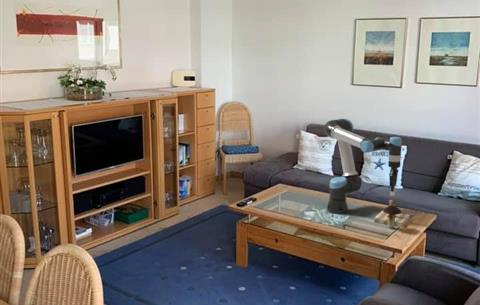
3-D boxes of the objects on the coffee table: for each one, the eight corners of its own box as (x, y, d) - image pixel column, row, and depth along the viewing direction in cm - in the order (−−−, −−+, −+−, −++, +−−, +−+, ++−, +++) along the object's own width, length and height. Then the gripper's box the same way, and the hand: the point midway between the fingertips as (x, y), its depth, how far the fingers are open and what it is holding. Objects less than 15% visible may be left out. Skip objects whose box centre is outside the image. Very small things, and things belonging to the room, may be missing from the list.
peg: (387, 221, 329) (388, 200, 326) (389, 219, 333) (390, 199, 330) (393, 222, 327) (394, 201, 324) (395, 220, 330) (396, 200, 328)
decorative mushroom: (380, 225, 321) (381, 203, 318) (396, 224, 322) (397, 202, 319) (386, 231, 311) (387, 208, 308) (403, 230, 312) (404, 207, 309)
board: (373, 222, 327) (374, 218, 327) (382, 214, 342) (382, 210, 341) (401, 227, 318) (401, 222, 317) (408, 219, 332) (409, 214, 332)
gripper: (397, 163, 314) (395, 199, 319) (403, 159, 325) (400, 194, 330) (385, 162, 318) (383, 197, 323) (391, 158, 329) (389, 192, 334)
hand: (392, 195), depth 327 cm, fingers closed
